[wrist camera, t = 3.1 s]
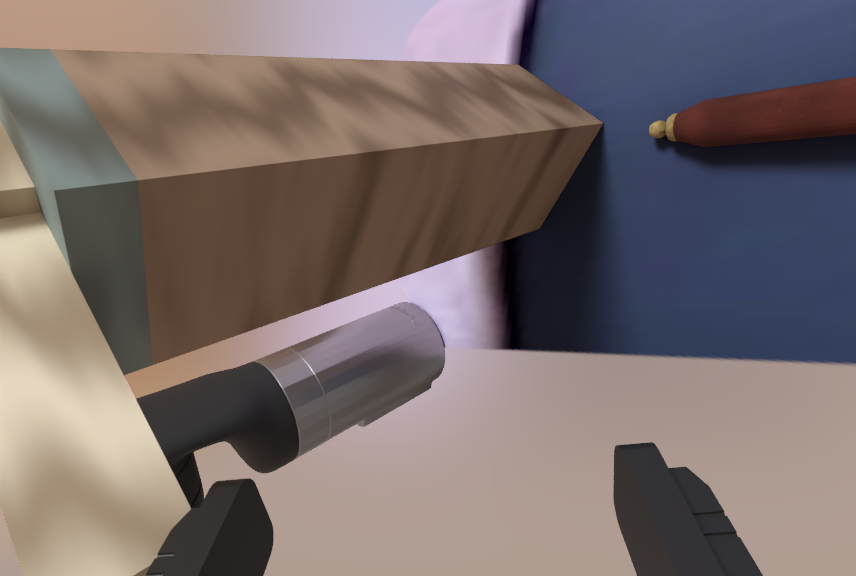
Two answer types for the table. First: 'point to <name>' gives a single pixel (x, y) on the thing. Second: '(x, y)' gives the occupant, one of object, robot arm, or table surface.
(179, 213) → the teal-capped wooden post
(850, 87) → the gavel
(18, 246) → the maple key
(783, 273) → the table surface
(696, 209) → the table surface
